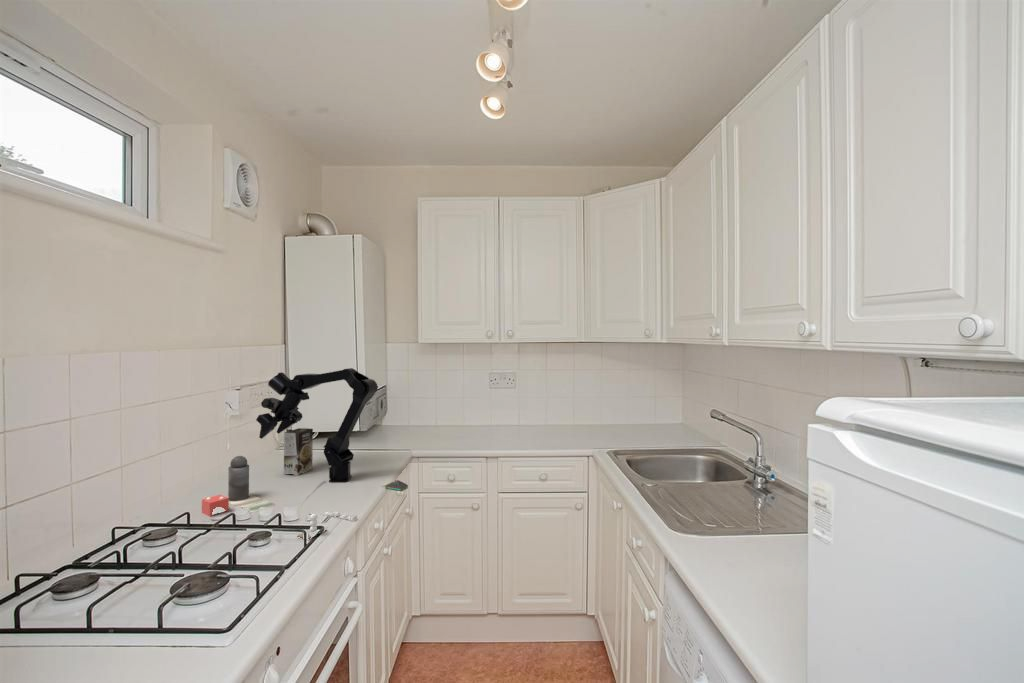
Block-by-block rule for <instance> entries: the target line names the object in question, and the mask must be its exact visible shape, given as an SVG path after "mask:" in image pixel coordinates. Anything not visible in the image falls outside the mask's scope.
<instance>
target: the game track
mask: <svg viewBox="0 0 1024 683" xmlns="http://www.w3.org/2000/svg"><path fill="white" fill-rule="evenodd" d="M229 504H231V505H233V506H234V507H237V506H241V507H243V508H244V507H249V508H250V512H249V513H255V512H258V511H260V510H259V508H260V507H268V508H270V507H274V506H277V504H276V503H273V502H270V501H269V500H266V499H264V498H260V497H258V496H256V495H254V494H250V493H249V497H248V498H247V499H245V500H241V501H229Z"/></svg>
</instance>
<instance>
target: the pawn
mask: <svg viewBox="0 0 1024 683" xmlns="http://www.w3.org/2000/svg"><path fill="white" fill-rule="evenodd" d="M227 471H228V472H227V473H228V492H227V494H228V495H227V498H229V501H238V502H239V501H241V500H242V501H243V500H245V499H247V498H248V497H249V494H250V464H248V460H247V458H246V457H245V456H243V455H238V456H234V457H233V458H232V459H231V461H230V466H228V470H227Z"/></svg>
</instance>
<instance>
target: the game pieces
mask: <svg viewBox="0 0 1024 683" xmlns="http://www.w3.org/2000/svg"><path fill="white" fill-rule="evenodd" d="M408 486H409V484H407V483H406V482H405V483H404V482H402V481H400V480H399V479H397V480H396V479H395V480H394V481H392V482H390V483H387V484H382V485H380V486H379V485H378V487H381V488H384V489H385V490H388V491H389V490H390V491H396V492H404V491H405V490H407V489H409V488H408ZM324 515H331V516H334V517H333V518H335V517H336V516H338V517H336V518H337V519H338V518H339V519H340V518H342V519H341V520H344V521H349V522H355V521H357V520H358V516H357V515H355V514H353V515H351V516H350V514H348V513H346V514H342V515H341V514H340V511H333V512H331V510H330V511H326V512H324V513H322V516H324ZM339 515H340V516H339ZM331 516H330V517H331ZM309 519H310V522H309V525H310V528H309V530H310V531H311V532H314V531H316V529H317V527H318V526H317V525H318V515H317V514H316V513H312V514H310V516H309ZM303 533H304V532H302V533H300V534H298V535H296V538H297V537H300V538H302V539H301V540H304V539H303ZM300 538H299V539H300ZM310 538H311V536H310V535H309V534H308V539H310ZM310 540H311V539H310Z"/></svg>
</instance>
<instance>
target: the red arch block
mask: <svg viewBox="0 0 1024 683" xmlns="http://www.w3.org/2000/svg"><path fill="white" fill-rule="evenodd" d="M229 504H230V503H229V498H228V496H225V495H222V494H217V495H214V496H210V497H205V498H202V499H201V513H202V514H204V515H206V516H207V517H213V516H212V512H213V509H215V508H216V507H222V508H224V509H225V510H226V511H227V512H229V511H230V510H229V506H230V505H229Z"/></svg>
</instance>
